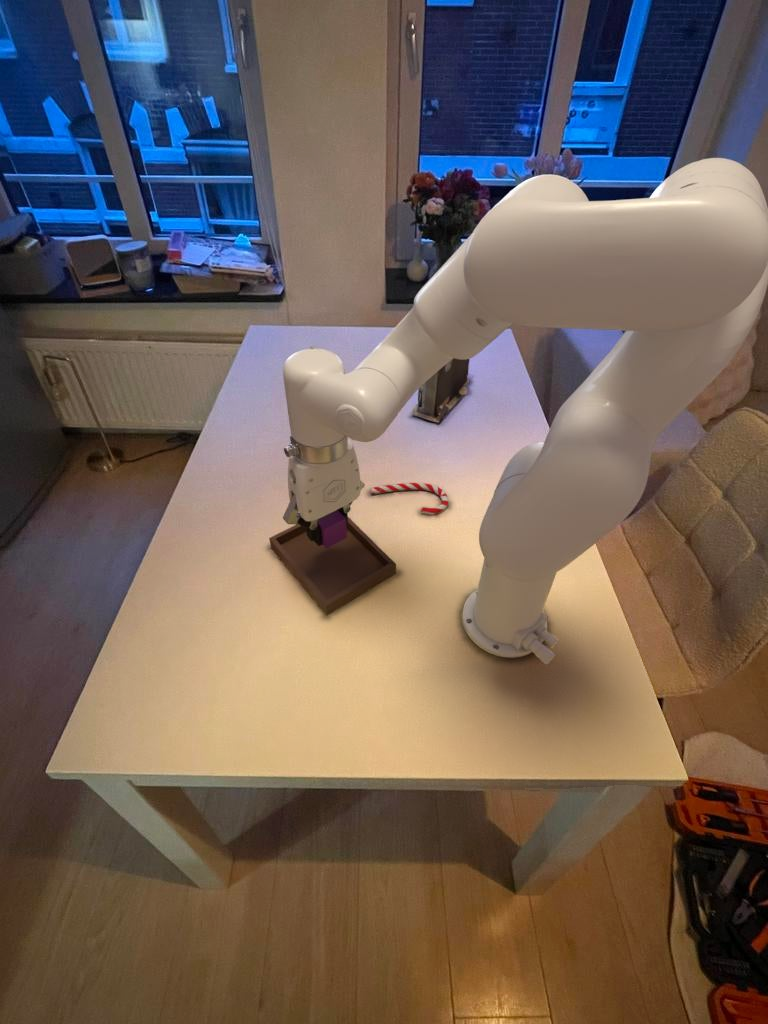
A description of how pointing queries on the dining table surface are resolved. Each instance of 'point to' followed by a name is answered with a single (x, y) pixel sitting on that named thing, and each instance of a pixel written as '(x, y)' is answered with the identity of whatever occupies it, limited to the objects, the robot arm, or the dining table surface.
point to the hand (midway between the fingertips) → (328, 533)
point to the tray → (333, 565)
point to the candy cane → (419, 487)
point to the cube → (332, 528)
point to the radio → (442, 391)
